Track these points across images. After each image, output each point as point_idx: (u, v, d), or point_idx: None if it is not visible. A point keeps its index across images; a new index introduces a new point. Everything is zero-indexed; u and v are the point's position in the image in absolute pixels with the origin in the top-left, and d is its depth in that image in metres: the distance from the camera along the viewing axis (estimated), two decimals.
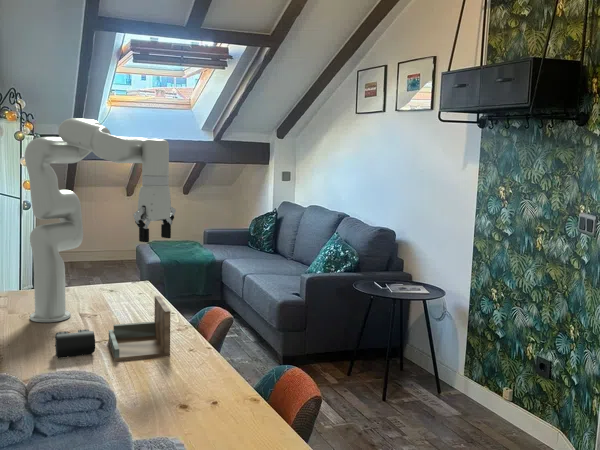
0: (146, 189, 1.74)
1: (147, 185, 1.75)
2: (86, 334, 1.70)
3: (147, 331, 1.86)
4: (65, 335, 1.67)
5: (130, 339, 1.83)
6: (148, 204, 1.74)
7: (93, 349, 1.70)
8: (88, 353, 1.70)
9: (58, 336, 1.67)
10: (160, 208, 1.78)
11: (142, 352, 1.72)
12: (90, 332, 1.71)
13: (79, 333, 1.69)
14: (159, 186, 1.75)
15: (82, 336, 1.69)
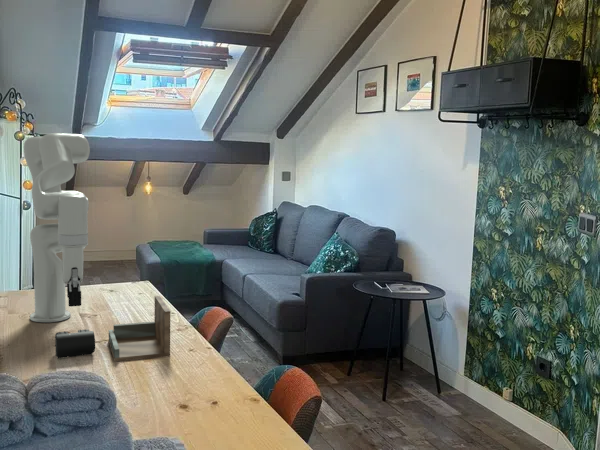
0: (76, 249, 1.63)
1: (74, 245, 1.63)
2: (86, 334, 1.70)
3: (147, 331, 1.86)
4: (65, 335, 1.67)
5: (130, 339, 1.83)
6: (80, 265, 1.63)
7: (93, 349, 1.70)
8: (88, 353, 1.70)
9: (58, 336, 1.67)
10: None
11: (142, 352, 1.72)
12: (90, 332, 1.71)
13: (79, 333, 1.69)
14: (86, 244, 1.66)
15: (82, 336, 1.69)
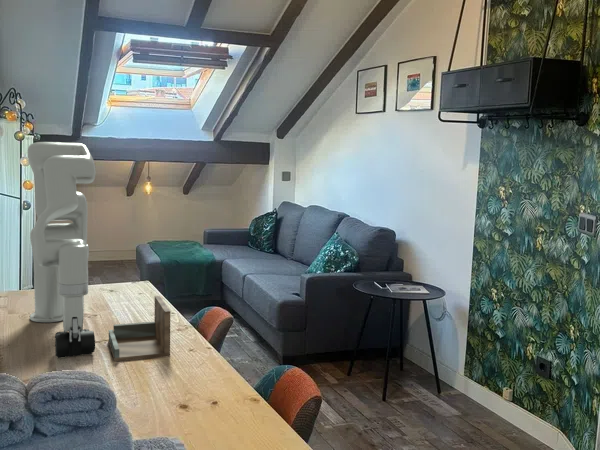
0: (77, 299, 1.65)
1: (75, 295, 1.65)
2: (86, 334, 1.70)
3: (147, 331, 1.86)
4: (65, 335, 1.67)
5: (130, 339, 1.83)
6: (80, 314, 1.65)
7: (93, 349, 1.70)
8: (87, 352, 1.70)
9: (58, 336, 1.66)
10: None
11: (142, 352, 1.72)
12: (90, 332, 1.71)
13: None
14: (86, 293, 1.68)
15: (82, 336, 1.69)
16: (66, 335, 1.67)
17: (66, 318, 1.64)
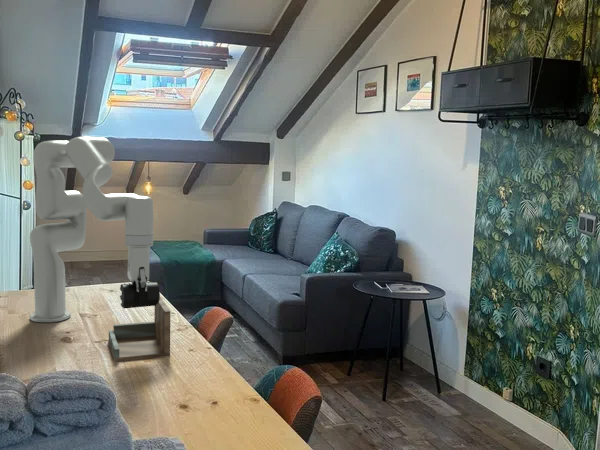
0: (144, 249, 1.68)
1: (141, 245, 1.68)
2: (151, 285, 1.73)
3: (147, 331, 1.86)
4: (131, 285, 1.70)
5: (130, 339, 1.83)
6: (147, 264, 1.68)
7: (158, 300, 1.73)
8: (152, 303, 1.73)
9: (124, 286, 1.70)
10: None
11: (142, 352, 1.72)
12: (154, 283, 1.74)
13: None
14: (151, 245, 1.71)
15: (147, 287, 1.72)
16: (132, 286, 1.70)
17: (133, 268, 1.67)
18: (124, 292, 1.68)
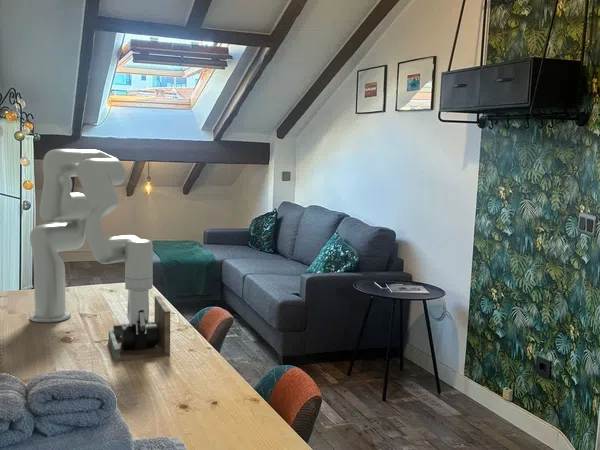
0: (143, 293, 1.70)
1: (141, 289, 1.70)
2: (150, 327, 1.74)
3: None
4: (131, 328, 1.72)
5: None
6: (146, 307, 1.70)
7: (157, 341, 1.75)
8: (151, 345, 1.75)
9: (124, 329, 1.71)
10: None
11: (142, 352, 1.72)
12: (154, 325, 1.76)
13: None
14: (151, 287, 1.73)
15: (147, 329, 1.74)
16: (132, 328, 1.72)
17: (133, 311, 1.69)
18: (124, 335, 1.70)
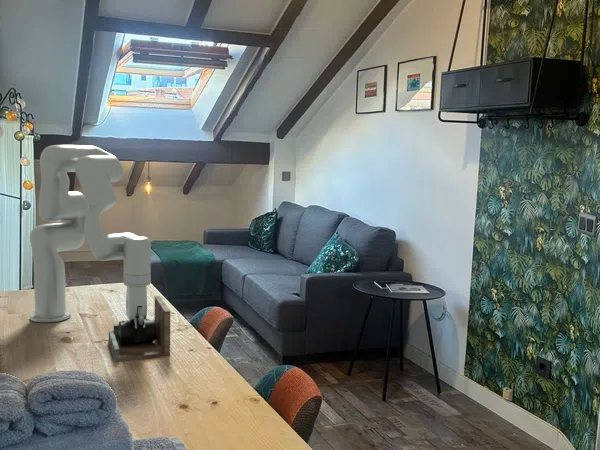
0: (141, 289, 1.73)
1: (139, 285, 1.74)
2: (148, 323, 1.78)
3: None
4: (128, 323, 1.76)
5: None
6: (144, 303, 1.74)
7: (154, 337, 1.78)
8: (149, 340, 1.79)
9: (122, 324, 1.75)
10: None
11: (142, 352, 1.72)
12: (151, 321, 1.79)
13: None
14: (149, 283, 1.76)
15: None
16: (130, 324, 1.76)
17: (131, 307, 1.72)
18: (121, 330, 1.74)
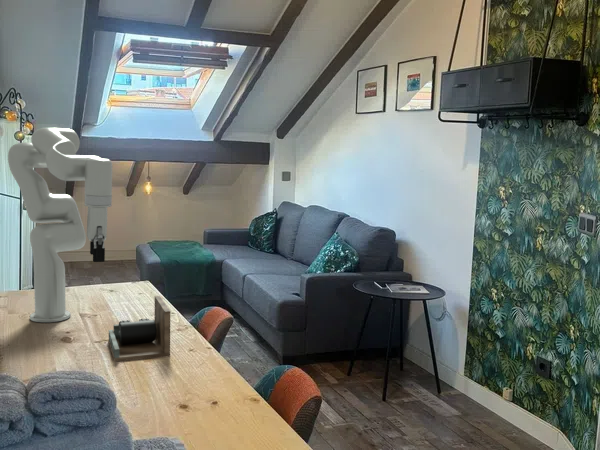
0: (101, 209, 1.75)
1: (100, 205, 1.76)
2: (148, 323, 1.78)
3: None
4: (128, 323, 1.76)
5: None
6: (104, 224, 1.76)
7: (154, 337, 1.78)
8: (149, 340, 1.79)
9: (122, 324, 1.75)
10: None
11: (142, 352, 1.72)
12: (151, 321, 1.79)
13: (141, 322, 1.78)
14: (110, 205, 1.78)
15: (144, 324, 1.77)
16: (130, 324, 1.76)
17: (91, 227, 1.75)
18: (121, 330, 1.74)
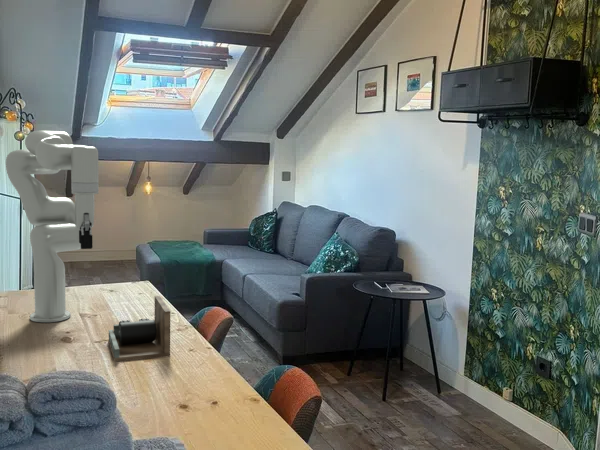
0: (88, 196, 1.77)
1: (86, 192, 1.77)
2: (148, 323, 1.78)
3: None
4: (128, 323, 1.76)
5: None
6: (91, 210, 1.77)
7: (154, 337, 1.78)
8: (149, 340, 1.79)
9: (122, 324, 1.75)
10: None
11: (142, 352, 1.72)
12: (151, 321, 1.79)
13: (141, 322, 1.78)
14: (96, 192, 1.80)
15: (144, 324, 1.77)
16: (130, 324, 1.76)
17: (78, 213, 1.76)
18: (121, 330, 1.74)
